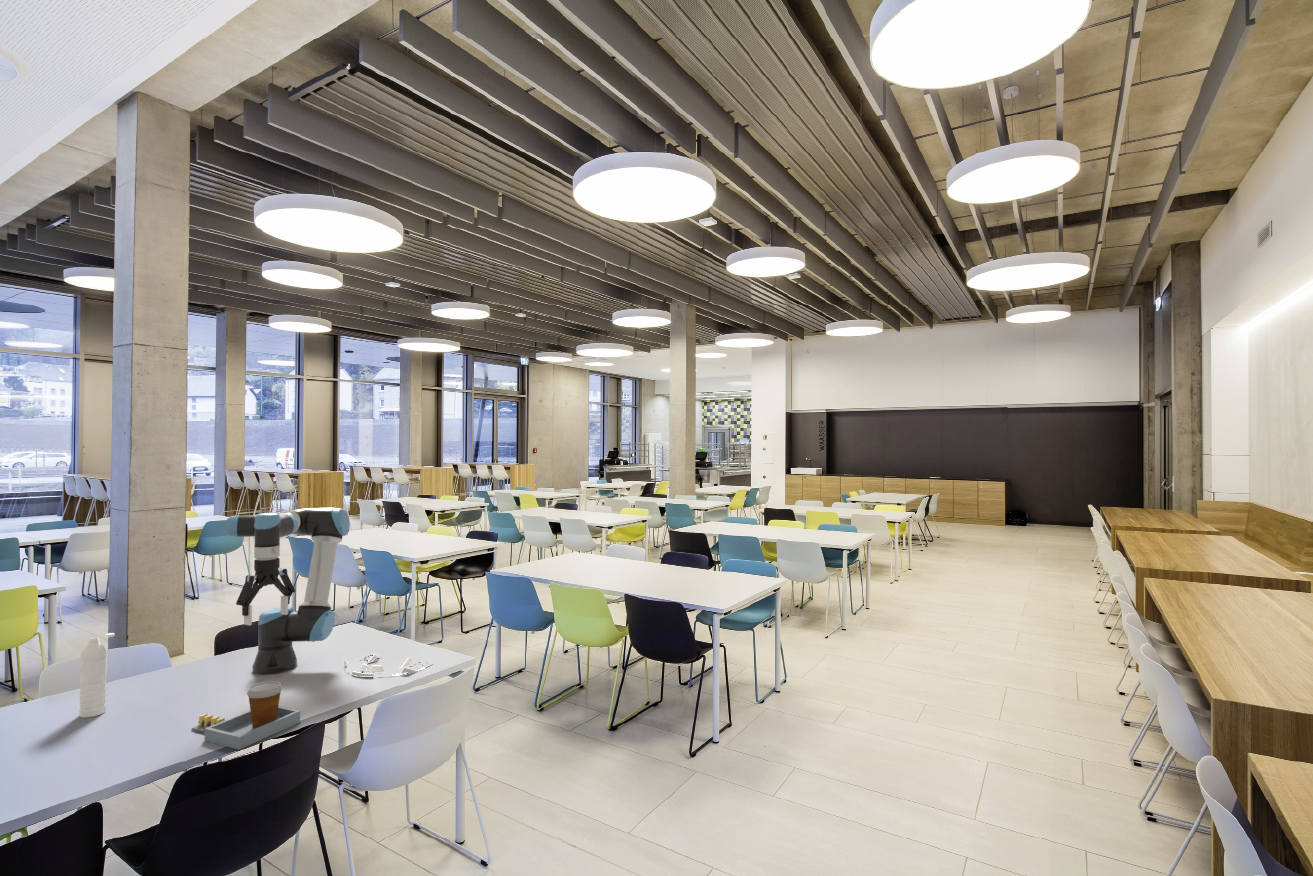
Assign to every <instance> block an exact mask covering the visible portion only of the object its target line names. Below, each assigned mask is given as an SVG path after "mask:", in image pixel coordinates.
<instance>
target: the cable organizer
mask: <svg viewBox="0 0 1313 876" xmlns="http://www.w3.org/2000/svg"><path fill="white" fill-rule="evenodd" d="M372 654H373V656H370V657H371V658H370V659H369V658H368V659H369V660H368V663H369V662H371V661H372V660H375V659H376V658H378V656H377V655H376V653H372ZM375 661H376V660H375ZM349 662H350V660H349V661H348V660H347V659H345V660H344V665H343V666H344V667H347V666H346V665H347V664H348V663H349ZM412 662H413V660H412V659H411V658H410V657H407V658H406V659H405V661H404V663H402V665H401V666H400V668H403V667H404V666H406V665H410V664H411V663H412ZM409 668H410V667H409ZM409 668H406V667H404V668H403V669H402V671H401V673H400V674H399V673H396V675H393V674H392V676H396V677H401V676H404V675H410V674H409V673H411V674H414V672H415V673H418V672H420V671H419V670H421V671H424V670H425V667H422V668H420V669H419V670H413V669H409ZM361 669H362V671H361V672H363V673H361V672H356V671H353V672H352V674H353V675H357V676H374V674H375V673H381V672H382V673H384V672H385V670H384V667H383V665H381V664H379V665H374V664H373V665H371V666H370V664H368V665H367V664H365V663H364V664H362V666H361ZM423 669H424V670H423ZM417 671H418V672H417ZM364 672H369V673H364ZM406 672H407V673H408V674H406ZM373 673H374V674H373ZM402 673H404V675H403V674H402Z"/></svg>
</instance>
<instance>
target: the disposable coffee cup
mask: <svg viewBox="0 0 1313 876" xmlns="http://www.w3.org/2000/svg"><path fill="white" fill-rule="evenodd" d="M282 690H283V686H282V684H281V682H280V681H277V680H276V681H275V680H274V681H273V680H269V681H263V682H258V683H255V684H252V685H251V686H249V688H248V690H247V692H246V695H247V696H248V697H247V698H248V703H249V708H250V709H249V711H250V710H251V718H252V726H253V728H258V727H261V726H263V725H265V724H268V723H270V722H272V721H275V720H276V719H277V712H278V706H279V704H280V699H281V692H282Z"/></svg>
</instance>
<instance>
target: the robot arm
mask: <svg viewBox="0 0 1313 876" xmlns="http://www.w3.org/2000/svg"><path fill="white" fill-rule="evenodd" d="M350 527H351V523H350V518H349V515H348V512H347V511H346V509H344V508H341V507H304V508H297V509H292V510H285V511H283V512H280V513H277V512H263V513H257V514H253V515H252V514H251V515H230V516H229V517H228V518H227V519H226V520H225V523H224V532H225V534H226V536H228V537H235V538H241V537H242V538H243V537H244V538H245V537H246V538H248V537H249V538H250V537H252V538H254V546H253V547H254V549H253V551H254V552H253V553H254V554H253V558H254V559H255V560H254V561H253V563H254V564H253V568H254V572H255V573H254V575H246V576H245V581H244V584H243V585H242V588H241V591H240V594H239V595H238V597H237V599H236V603H235V605H236V606H241V615H242V616H243V625H245V626H252V625H253V624H252V623H253V619H252V618H253V605H251V603H252V602H253V600H254V599H255V597H256V596H257V594H258V593H259V592H260V591H261V589H262V588H264V587H267V586H269V585H271V586H272V585H273V586H274V587H275V588H276V589H277V590H278V591H279V592H280V593H281V594H282V595H280V607H275V608H272V609H269V610H266V611H263V612H262V613H260V614H259V617H258V624H257V626H258V628H257V629H258V631H257V633H258V635H257V636H258V638H257V639H258V640H257V643H258V644H257V653H256V656H255V660H254V661H253V663H252V673H254V674H256V675H272V674H273V675H274V674H280V673H284V672H287V671H291V670H292V669H295V668H296V667H297V666H298V659H297V658H298V657H297V656H296V652H295V651H294V647H293V643H294V642H312V643H313V642H321V641H324V640H326V639H327V638H328V637H329V636H331V633H332V631H333V629H334V627H335V621H336V618H335V617H336V614H335V612H334V611H332V606H331V604H329V602H328V601H329V596H330V590H331V583H332V579H333V572H334V567H335V561H336V555H337V554H336V553H337V548H338V544H340V543H342V541H343V537H345V536H348V535H349V532H350V529H351V528H350ZM290 535H297V536H298V535H299V536H310V539H311V540H312V542H313V550H312V555H311V561H310V564H309V565H310V566H309V573H308V577H307V582H306V587H305V594H304V599H303V602H302V603H301V604H300V605H298V609H297V610H294V608H293V606H289V605H290V598H291V596H293V593H296V588H295V587H294V585H293V583H292V581H291V578H290V576H289V575H288V569H287V568H284V567H283V568H282V567H281V568H280V566H281V564H280V562H281V561H280V558H279V557H280V554H281V553H280V552H281V551H280V550H281V549H280V548H281V547H280V546H281V544H280V543H281V541H280V540H281V538H283V537H287V536H290ZM278 577H279V578H278ZM280 579H281V580H280ZM281 581H282V582H281Z"/></svg>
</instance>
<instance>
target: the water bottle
mask: <svg viewBox="0 0 1313 876" xmlns="http://www.w3.org/2000/svg"><path fill="white" fill-rule="evenodd" d="M115 634H116V633H114V632H109V633H106V634H104V639H105V638H106V639H110V638H113V637H116V636H115ZM107 657H108V650H107V647H105V645H103V643H102V642H101V641H100V637H99V636H93V637H90V638H89V640H88V644H86V646H85V647H84V648H83V650H82V651H81V653H80V675H79V676H80V679H79V680H80V681H79V683H80V685H79V690H80V691H79V718H82V719H83V718H84V719H85V718H94V717H97V716H101V715H103V714H104V713H106V711H107V704H106V703H107V670H108V669H107V667H108V666H107V664H108V662H107V661H108V658H107Z"/></svg>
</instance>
